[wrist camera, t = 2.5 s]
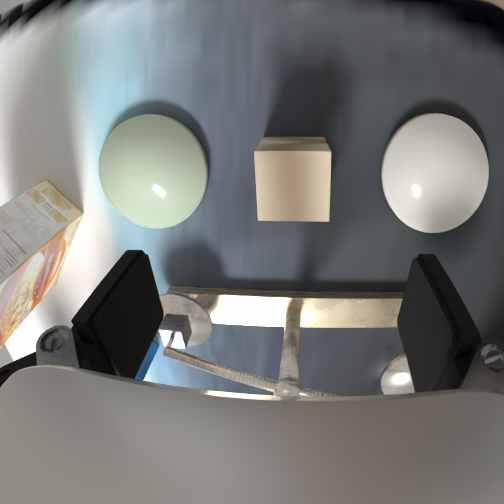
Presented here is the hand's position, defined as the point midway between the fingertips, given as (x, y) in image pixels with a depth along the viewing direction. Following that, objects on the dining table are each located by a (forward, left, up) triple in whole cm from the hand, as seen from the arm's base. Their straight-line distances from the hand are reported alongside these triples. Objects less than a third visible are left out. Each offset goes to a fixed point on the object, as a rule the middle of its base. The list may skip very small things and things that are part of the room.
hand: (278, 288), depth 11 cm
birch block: (0, 0, -18) cm, 18 cm away
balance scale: (0, +15, -18) cm, 23 cm away
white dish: (-13, 0, -18) cm, 22 cm away
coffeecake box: (+30, +7, -18) cm, 35 cm away
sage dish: (+13, 0, -18) cm, 22 cm away
